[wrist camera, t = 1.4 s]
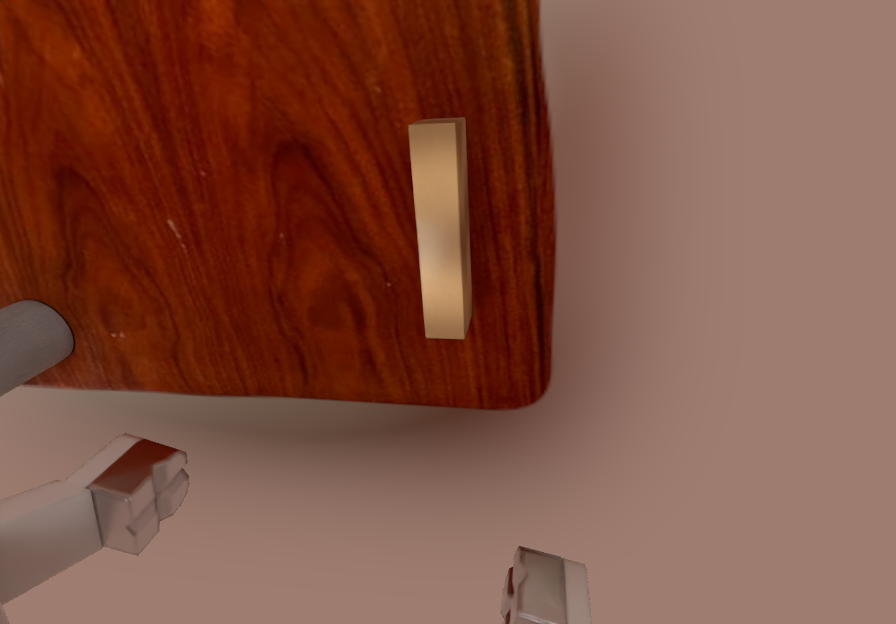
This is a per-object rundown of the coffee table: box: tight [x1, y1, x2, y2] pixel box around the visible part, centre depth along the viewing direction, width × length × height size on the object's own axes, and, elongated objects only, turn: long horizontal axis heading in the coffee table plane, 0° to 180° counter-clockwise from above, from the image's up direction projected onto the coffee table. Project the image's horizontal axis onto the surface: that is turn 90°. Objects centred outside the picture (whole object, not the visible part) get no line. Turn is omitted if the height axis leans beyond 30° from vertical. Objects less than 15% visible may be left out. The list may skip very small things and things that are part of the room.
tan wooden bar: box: [408, 117, 472, 339], centre depth 23 cm, size 10×2×3 cm, turn 3°
